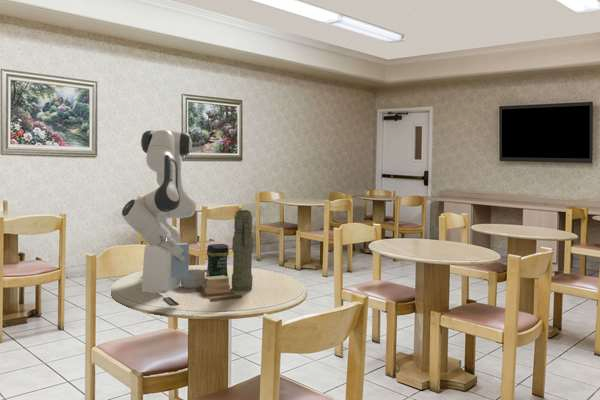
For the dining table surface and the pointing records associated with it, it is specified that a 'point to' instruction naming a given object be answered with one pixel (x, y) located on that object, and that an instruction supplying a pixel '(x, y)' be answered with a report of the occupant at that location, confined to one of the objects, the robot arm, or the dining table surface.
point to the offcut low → (216, 289)
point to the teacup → (194, 279)
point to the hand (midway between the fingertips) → (181, 258)
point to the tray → (218, 295)
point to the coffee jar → (217, 259)
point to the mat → (170, 301)
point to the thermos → (242, 251)
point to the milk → (157, 270)
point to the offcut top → (216, 281)
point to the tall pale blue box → (180, 263)
